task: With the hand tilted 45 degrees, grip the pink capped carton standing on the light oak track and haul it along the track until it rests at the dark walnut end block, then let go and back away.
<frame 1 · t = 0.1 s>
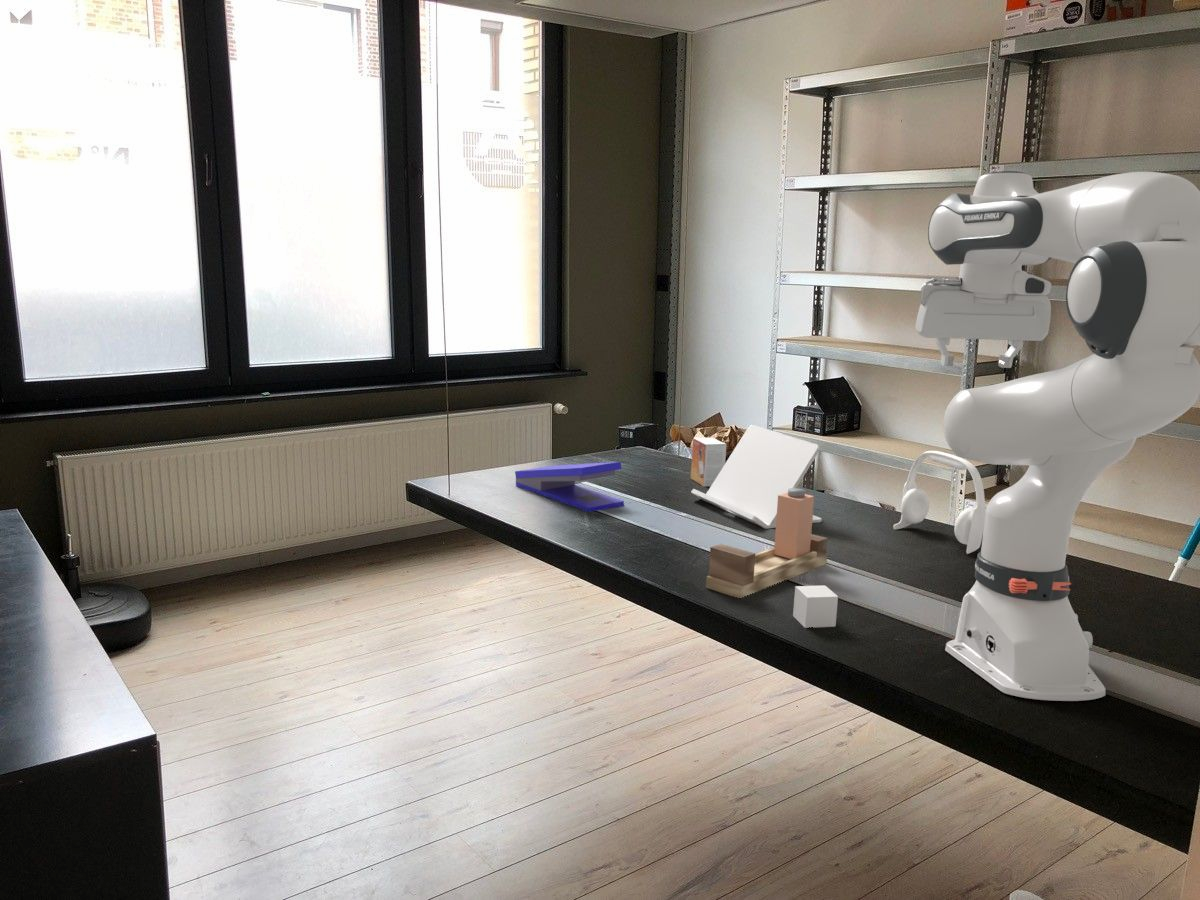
hand: (975, 366, 156), 39 cm above the table, tool pointing down, fingers open, 8 cm apart
small box: (707, 483, 238), on the table
tablet stand: (753, 512, 214), on the table
white cube: (813, 622, 151), on the table
stapler: (567, 497, 222), on the table
track: (768, 575, 171), on the table
headset: (938, 541, 196), on the table
pink capped carton: (794, 522, 175), point 8 cm above the table, slide at 0.0 cm
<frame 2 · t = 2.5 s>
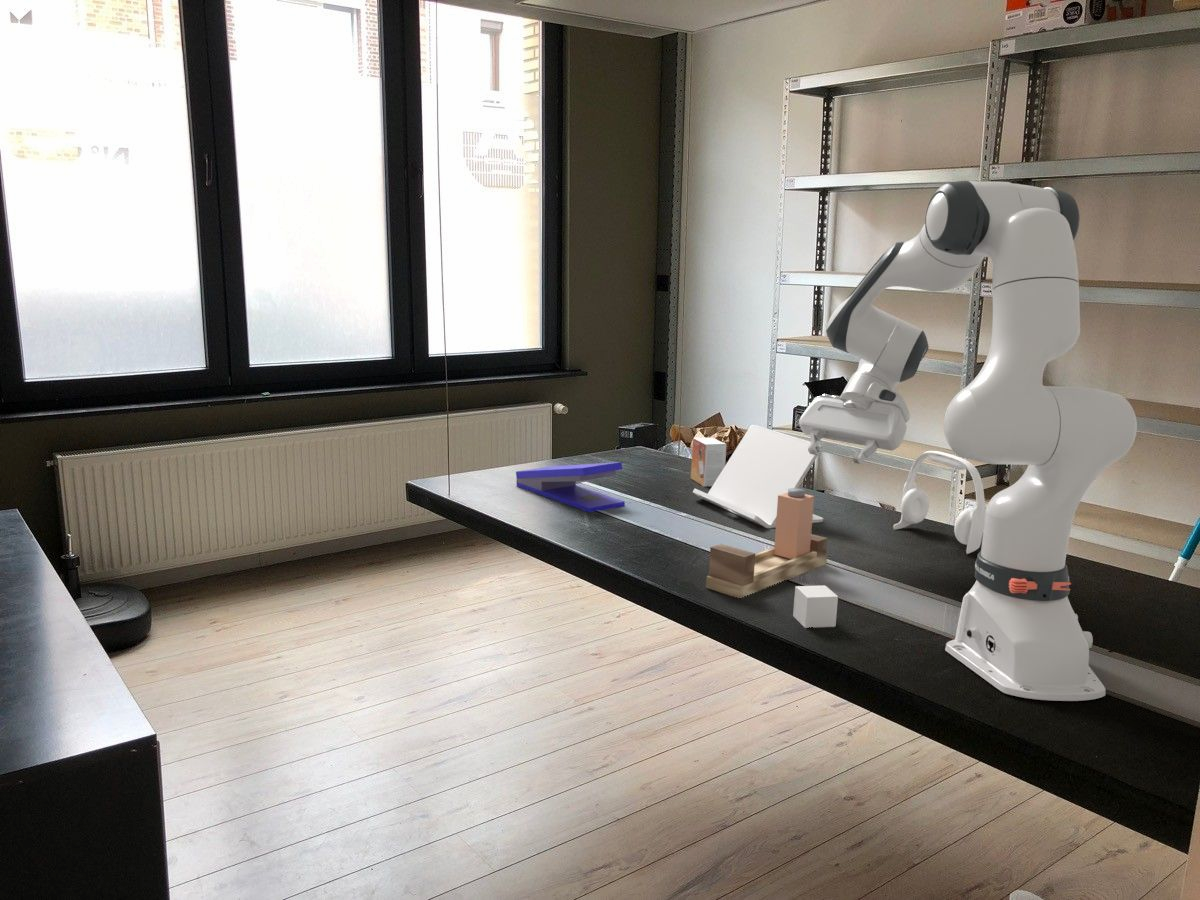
hand: (834, 457, 181), 19 cm above the table, tool tilted 45°, fingers open, 8 cm apart
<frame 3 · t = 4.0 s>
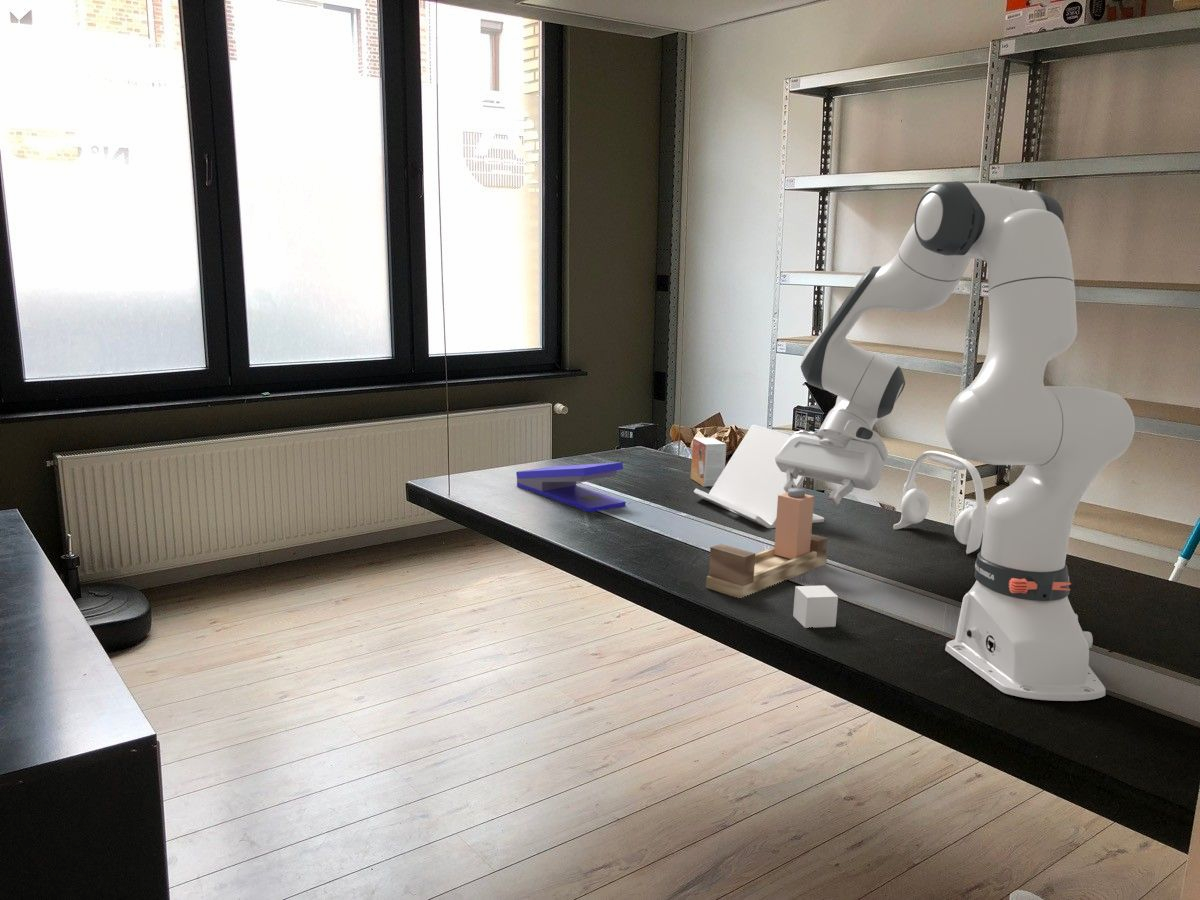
hand: (810, 496, 177), 12 cm above the table, tool tilted 45°, fingers open, 8 cm apart
nothing on the table moved.
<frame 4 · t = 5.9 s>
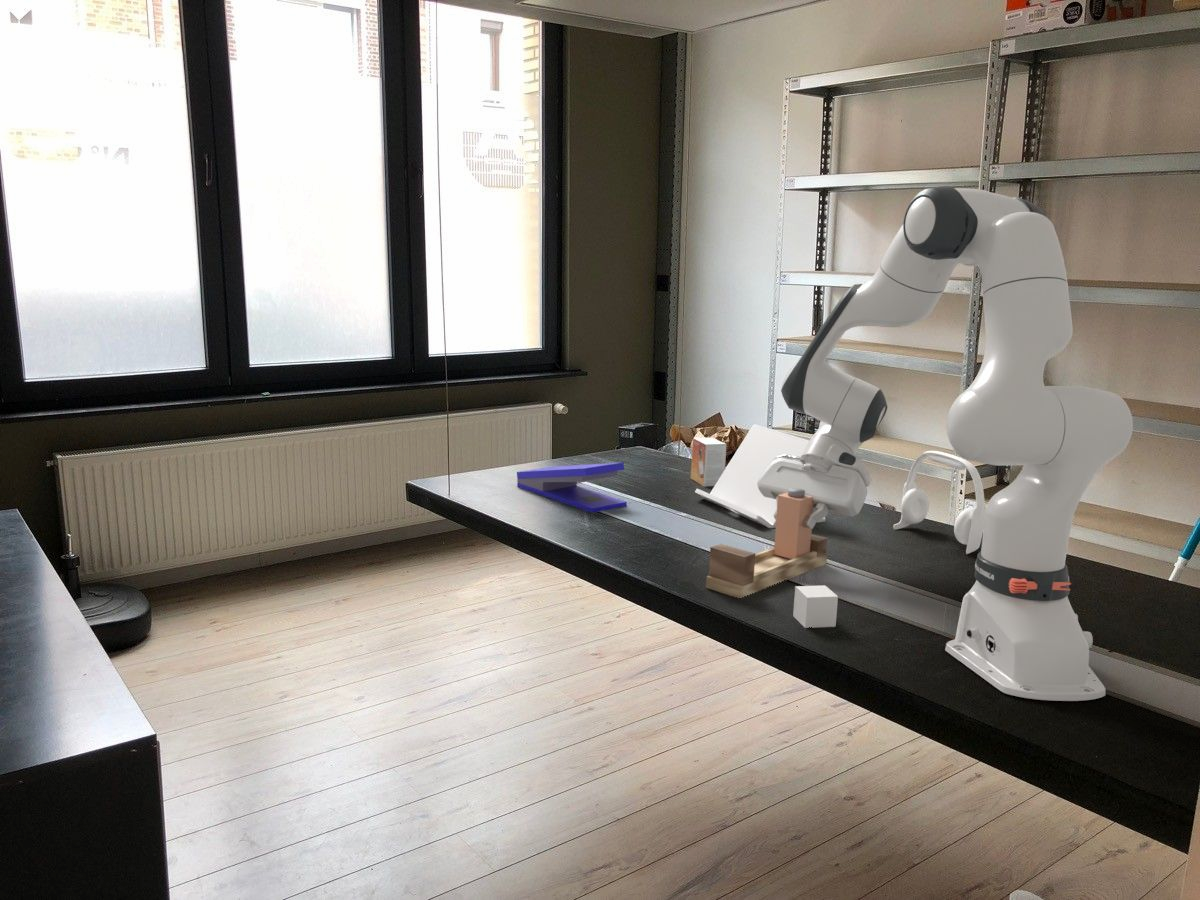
hand: (792, 522, 174), 8 cm above the table, tool tilted 45°, fingers closed on pink capped carton, 5 cm apart
pink capped carton: (794, 522, 175), point 8 cm above the table, slide at 0.0 cm, touching gripper
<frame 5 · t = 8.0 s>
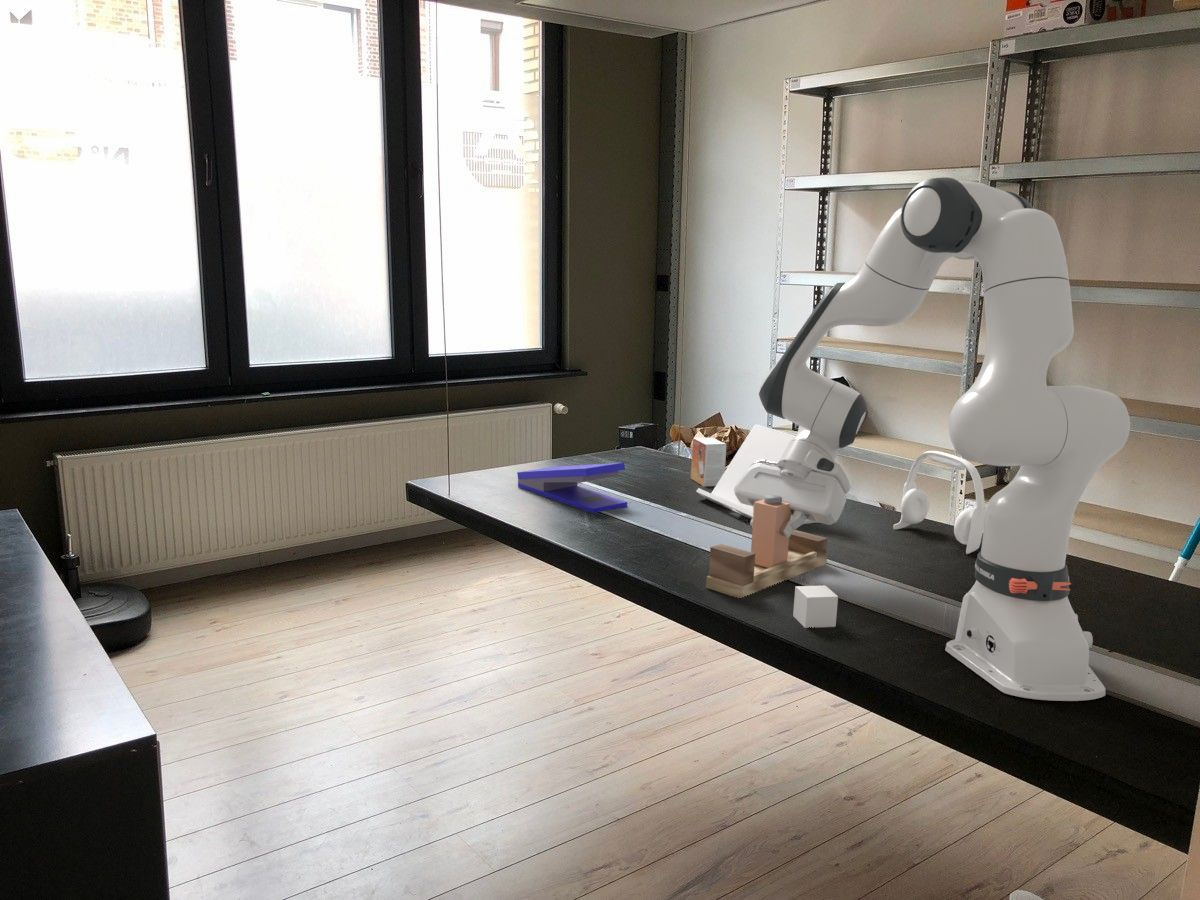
hand: (768, 530, 169), 8 cm above the table, tool tilted 45°, fingers closed on pink capped carton, 5 cm apart
pink capped carton: (770, 530, 169), point 8 cm above the table, slide at 7.4 cm, touching gripper
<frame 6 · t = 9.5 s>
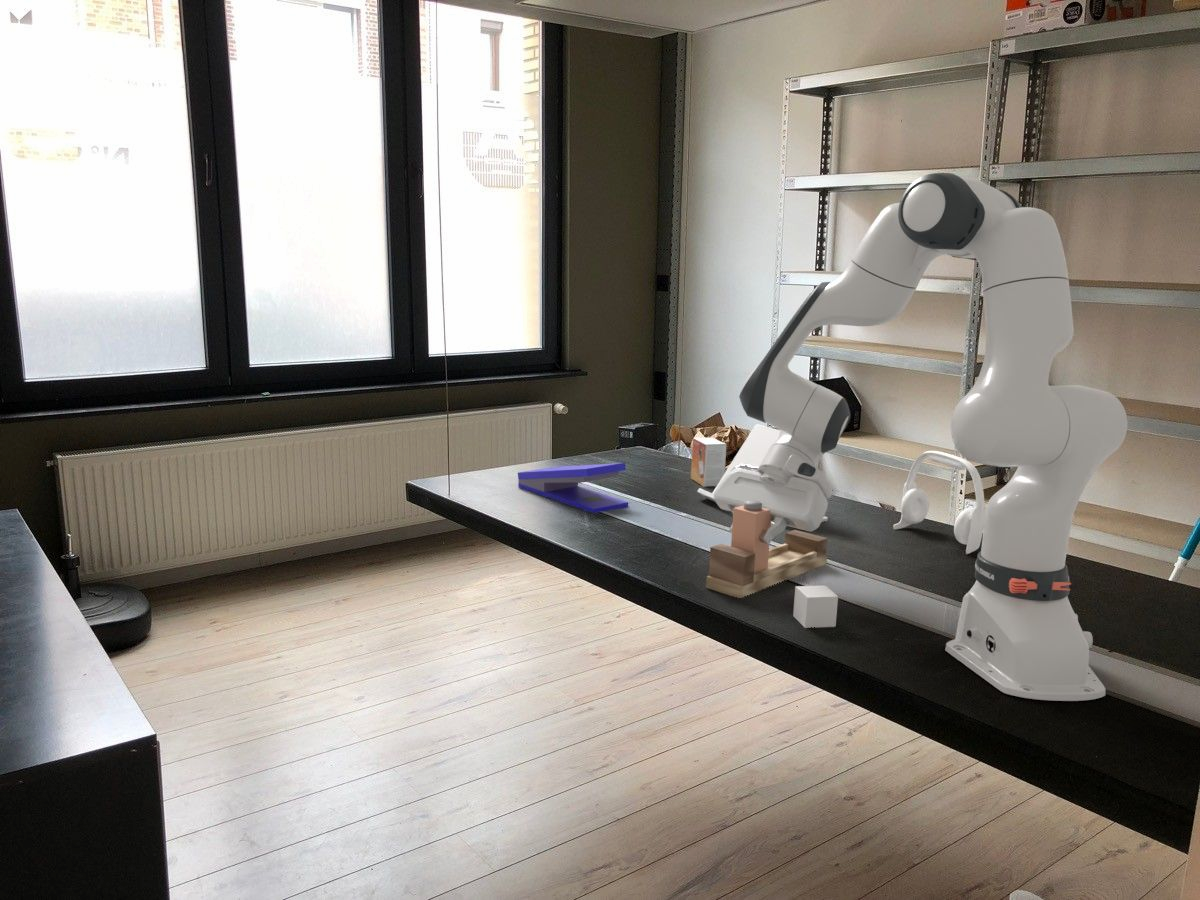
hand: (748, 537, 165), 8 cm above the table, tool tilted 45°, fingers closed on pink capped carton, 5 cm apart
pink capped carton: (750, 537, 165), point 8 cm above the table, slide at 13.4 cm, touching gripper
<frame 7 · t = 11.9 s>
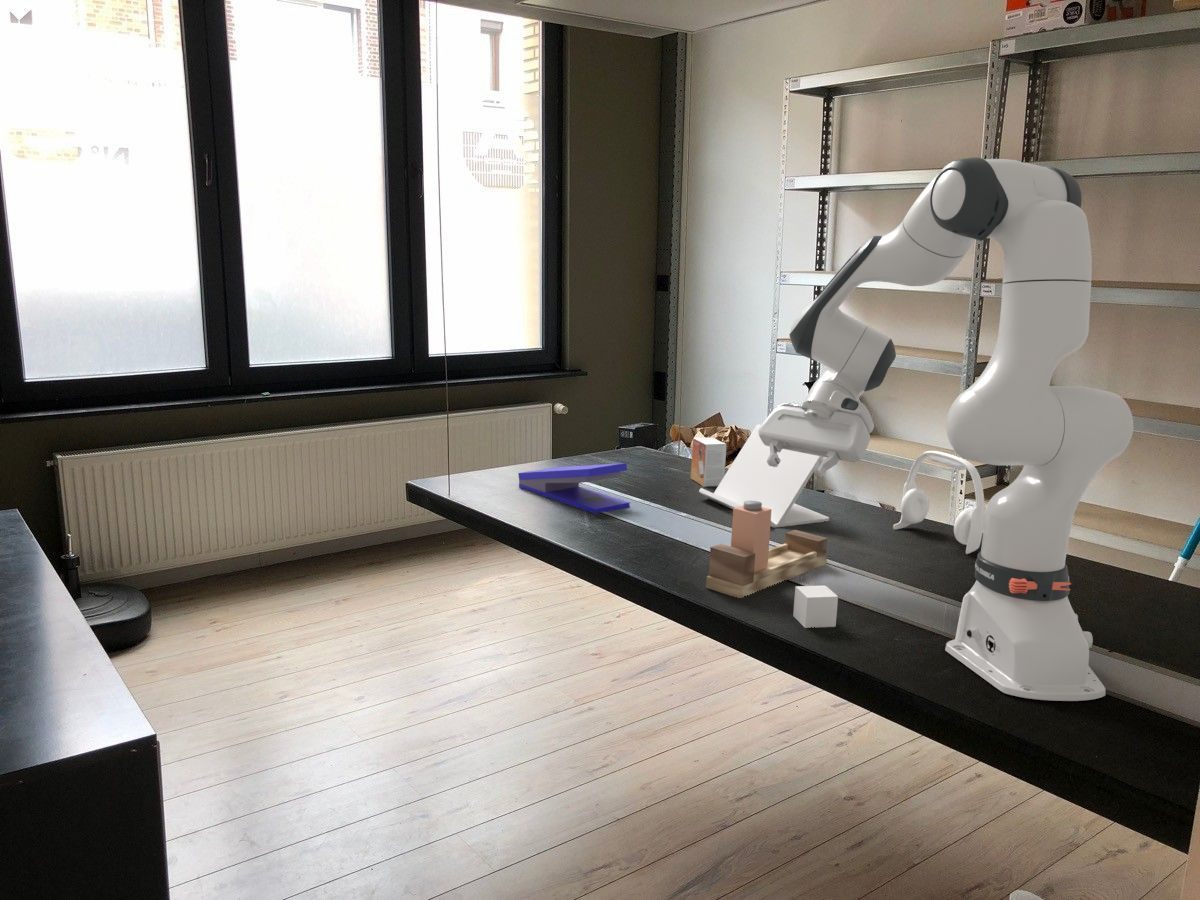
hand: (793, 469, 172), 18 cm above the table, tool tilted 45°, fingers open, 8 cm apart
pink capped carton: (750, 537, 165), point 8 cm above the table, slide at 13.5 cm
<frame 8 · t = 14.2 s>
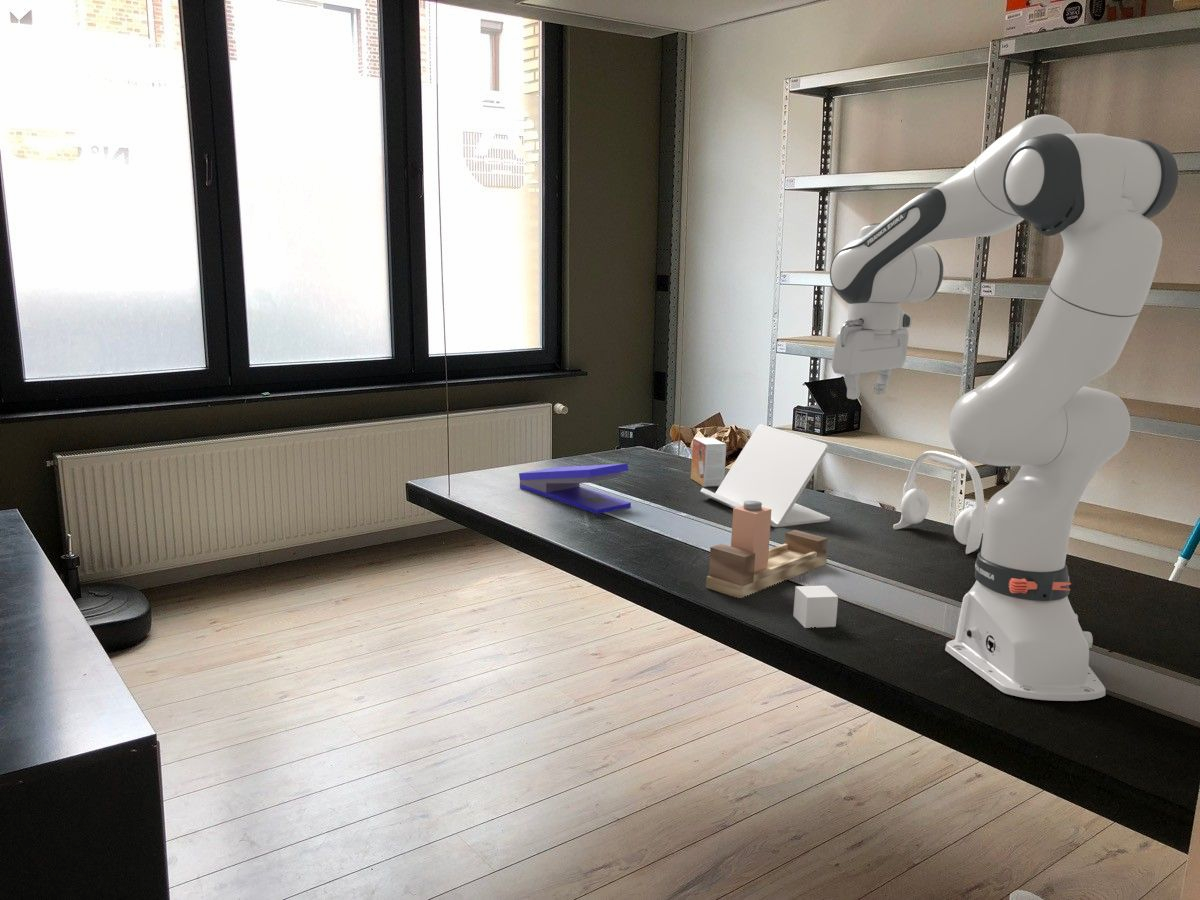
hand: (866, 396, 173), 31 cm above the table, tool pointing down, fingers open, 8 cm apart
at the end: pink capped carton slide at 13.5 cm; the gripper is holding nothing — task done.
